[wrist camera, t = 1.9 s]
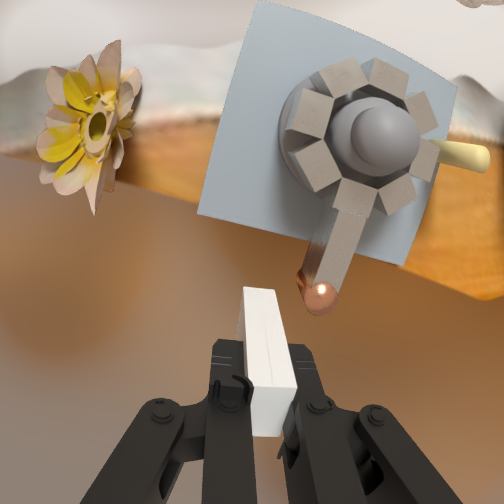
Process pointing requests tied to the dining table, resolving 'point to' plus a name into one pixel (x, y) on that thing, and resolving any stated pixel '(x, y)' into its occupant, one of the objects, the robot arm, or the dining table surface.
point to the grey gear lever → (345, 189)
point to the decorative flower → (87, 124)
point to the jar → (480, 2)
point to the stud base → (336, 136)
